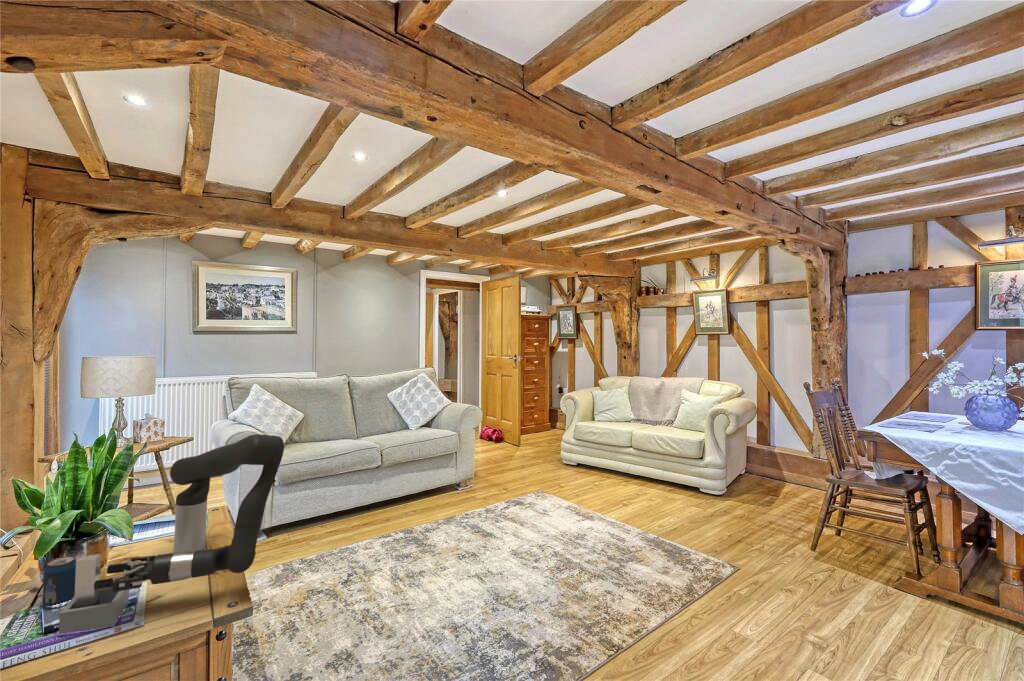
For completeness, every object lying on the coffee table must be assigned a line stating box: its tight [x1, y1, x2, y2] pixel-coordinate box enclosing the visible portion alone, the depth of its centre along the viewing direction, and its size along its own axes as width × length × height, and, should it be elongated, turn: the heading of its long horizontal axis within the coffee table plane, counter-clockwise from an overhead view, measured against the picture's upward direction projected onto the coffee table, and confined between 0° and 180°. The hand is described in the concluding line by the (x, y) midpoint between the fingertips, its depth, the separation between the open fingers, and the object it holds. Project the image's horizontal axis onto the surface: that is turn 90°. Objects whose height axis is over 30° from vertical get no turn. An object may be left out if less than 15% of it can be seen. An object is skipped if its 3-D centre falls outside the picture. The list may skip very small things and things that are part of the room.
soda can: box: [41, 555, 77, 607], centre depth 129 cm, size 7×7×12 cm
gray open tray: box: [58, 586, 130, 635], centre depth 122 cm, size 11×11×6 cm
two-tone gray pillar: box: [73, 553, 101, 609], centre depth 121 cm, size 3×4×16 cm
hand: (101, 577), depth 123 cm, fingers open, 8 cm apart
